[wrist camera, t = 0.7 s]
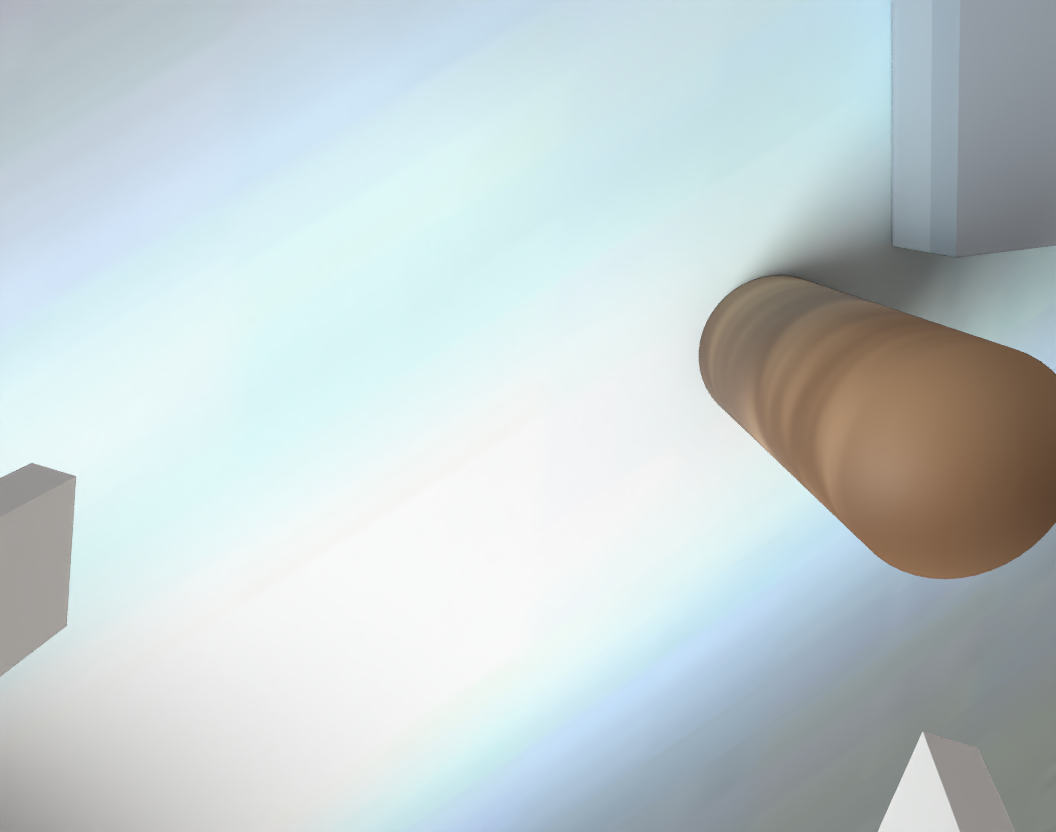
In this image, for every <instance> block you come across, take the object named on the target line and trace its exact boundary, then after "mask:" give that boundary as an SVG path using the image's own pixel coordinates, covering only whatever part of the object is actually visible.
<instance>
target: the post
mask: <svg viewBox="0 0 1056 832" xmlns="http://www.w3.org/2000/svg"><path fill="white" fill-rule="evenodd" d="M699 365H700V371H701V375H702V379H703V381H704V384H705V386H706V388H707V390H708V392H709V393H710V395H711V396H712V398H713V399H714V400H715V401H716V403H717V404H718V405H719V406H721V407H722V408H723V409H724V410H725V411H726V412H727V413H728V414H729V415H730V416H731V417H732V418H733V419H734V420H735V421H736V422H737V423H738V424H739V425H740V426H741V427H742V428H744V429H745V430H746V431H747V432H748V433H749V434H750V435H751V436H752V437H753V438H754V439H755V440H756V441H757V442H758V443H759V444H760V445H761V446H762V447H763V448H764V449H765V450H767V451H768V452H769V453H770V454H771V455H772V456H773V457H774V458H775V459H776V460H777V461H778V462H779V463H780V464H781V465H782V466H783V467H784V468H785V469H786V470H787V471H788V472H790V473H791V474H792V475H793V476H794V477H795V478H796V479H797V480H798V481H799V482H800V483H801V484H802V485H803V486H804V487H805V488H806V489H807V490H808V491H809V492H810V493H811V494H813V495H814V496H815V497H816V498H817V499H818V500H819V501H820V502H821V503H822V504H823V505H824V506H825V507H826V508H827V509H828V510H829V511H830V512H831V513H832V514H833V515H834V516H835V517H837V518H838V519H839V520H840V521H841V522H842V523H843V524H844V525H845V526H846V527H847V528H848V529H849V530H850V531H851V532H852V533H853V534H854V535H855V536H856V537H857V538H858V539H860V540H861V541H862V542H863V543H864V544H865V545H866V546H867V547H868V548H869V549H870V550H871V551H872V552H873V553H874V554H875V555H877V556H878V557H879V558H880V559H882V560H883V561H885V562H886V563H888V564H889V565H891V566H893V567H895V568H897V569H899V570H901V571H904V572H907V573H910V574H913V575H916V576H921V577H927V578H936V579H954V578H964V577H969V576H974V575H978V574H981V573H984V572H988V571H991V570H993V569H995V568H998V567H1000V566H1002V565H1005V564H1007V563H1008V562H1010V561H1012V560H1013V559H1015V558H1017V557H1019V556H1020V555H1022V554H1023V553H1024V552H1026V551H1027V550H1028V549H1030V548H1031V547H1032V546H1034V545H1035V544H1036V543H1037V542H1038V541H1039V540H1040V539H1041V538H1042V537H1043V536H1044V535H1045V534H1046V533H1047V532H1048V531H1049V530H1050V529H1051V527H1052V526H1053V525H1054V524H1055V523H1056V374H1055V373H1054V372H1053V371H1052V370H1051V369H1050V368H1048V367H1047V366H1046V365H1045V364H1043V363H1042V362H1041V361H1039V360H1037V359H1036V358H1034V357H1032V356H1030V355H1028V354H1026V353H1024V352H1021V351H1018V350H1016V349H1013V348H1010V347H1007V346H1004V345H1001V344H998V343H995V342H992V341H989V340H986V339H983V338H980V337H977V336H974V335H970V334H967V333H964V332H961V331H958V330H955V329H952V328H949V327H946V326H943V325H940V324H937V323H934V322H931V321H928V320H925V319H922V318H919V317H916V316H913V315H910V314H907V313H904V312H901V311H898V310H895V309H892V308H889V307H886V306H882V305H879V304H876V303H873V302H870V301H867V300H864V299H861V298H858V297H855V296H852V295H849V294H846V293H843V292H840V291H837V290H834V289H831V288H828V287H825V286H822V285H819V284H816V283H813V282H810V281H807V280H804V279H801V278H796V277H792V276H782V275H778V276H767V277H762V278H758V279H755V280H752V281H750V282H748V283H745V284H743V285H741V286H740V287H738V288H737V289H735V290H733V291H732V292H731V293H730V294H728V295H727V296H726V297H725V298H724V299H723V300H722V301H721V302H720V303H719V304H718V305H717V307H716V308H715V309H714V311H713V312H712V314H711V315H710V317H709V319H708V321H707V323H706V325H705V327H704V330H703V333H702V336H701V340H700V347H699Z"/></svg>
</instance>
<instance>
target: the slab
mask: <svg viewBox="0 0 1056 832" xmlns="http://www.w3.org/2000/svg"><path fill="white" fill-rule="evenodd" d="M1055 245H1056V0H892V246H896V247H901V248H907V249H913V250H918V251H924V252H929V253H935V254H940V255H946V256H952V257H963V256H972V255H980V254H988V253H997V252H1005V251H1013V250H1022V249H1030V248H1038V247H1047V246H1055Z"/></svg>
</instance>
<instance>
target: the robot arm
mask: <svg viewBox="0 0 1056 832" xmlns="http://www.w3.org/2000/svg"><path fill="white" fill-rule="evenodd" d="M75 486H76V476H73V475H70V474H67V473H63V472H60V471H57V470H53V469H50V468H47V467H44V466H40V465H37V464H34V463H31V464H29V465H27V466H24V467H22V468H20V469H18V470H16V471H14V472H12V473H10V474H8V475H6V476H4V477H2V478H0V676H2V675H3V674H4V673H5V672H7V671H8V670H9V669H11V668H12V667H13V666H15V665H16V664H17V663H19V662H20V661H21V660H23V659H24V658H25V657H26V656H28V655H29V654H30V653H32V652H33V651H34V650H36V649H37V648H38V647H40V646H41V645H42V644H43V643H45V642H46V641H47V640H49V639H50V638H51V637H53V636H54V635H55V634H57V633H58V632H59V631H61V630H62V629H63V628H64V627H66V626H67V610H68V595H69V579H70V564H71V548H72V532H73V517H74V501H75ZM878 832H1015V829H1014V827H1013V825H1012V823H1011V820H1010V818H1009V816H1008V814H1007V812H1006V809H1005V807H1004V805H1003V803H1002V801H1001V798H1000V796H999V794H998V792H997V789H996V787H995V785H994V783H993V781H992V778H991V776H990V774H989V772H988V770H987V767H986V765H985V763H984V761H983V758H982V756H981V754H980V752H979V750H978V748H976V747H972V746H969V745H966V744H963V743H959V742H956V741H953V740H949V739H946V738H943V737H939V736H936V735H933V734H929V733H926V732H922V734H921V736H920V739H919V741H918V743H917V745H916V748H915V750H914V752H913V754H912V757H911V759H910V761H909V763H908V765H907V768H906V770H905V772H904V774H903V777H902V779H901V781H900V783H899V786H898V788H897V790H896V792H895V794H894V797H893V799H892V801H891V803H890V806H889V808H888V810H887V812H886V815H885V817H884V819H883V821H882V823H881V826H880V828H879V830H878Z"/></svg>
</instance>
